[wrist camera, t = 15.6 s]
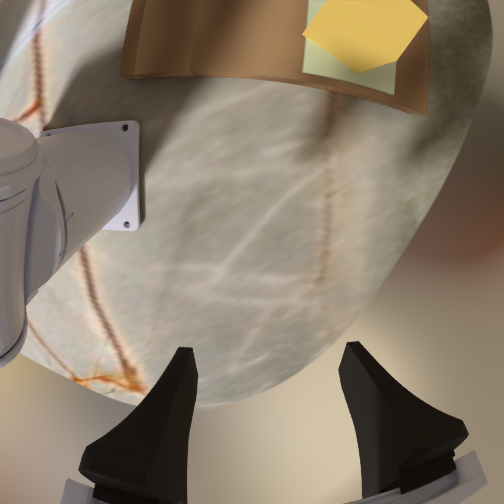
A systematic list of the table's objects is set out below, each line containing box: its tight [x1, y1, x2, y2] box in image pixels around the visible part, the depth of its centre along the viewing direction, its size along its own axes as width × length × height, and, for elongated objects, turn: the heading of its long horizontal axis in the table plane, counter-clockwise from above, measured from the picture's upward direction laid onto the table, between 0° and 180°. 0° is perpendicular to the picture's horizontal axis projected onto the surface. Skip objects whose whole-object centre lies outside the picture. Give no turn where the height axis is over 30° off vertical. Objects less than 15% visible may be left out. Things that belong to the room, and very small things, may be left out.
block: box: [302, 0, 428, 74], centre depth 10 cm, size 4×4×5 cm
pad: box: [302, 0, 396, 95], centre depth 12 cm, size 6×6×1 cm
